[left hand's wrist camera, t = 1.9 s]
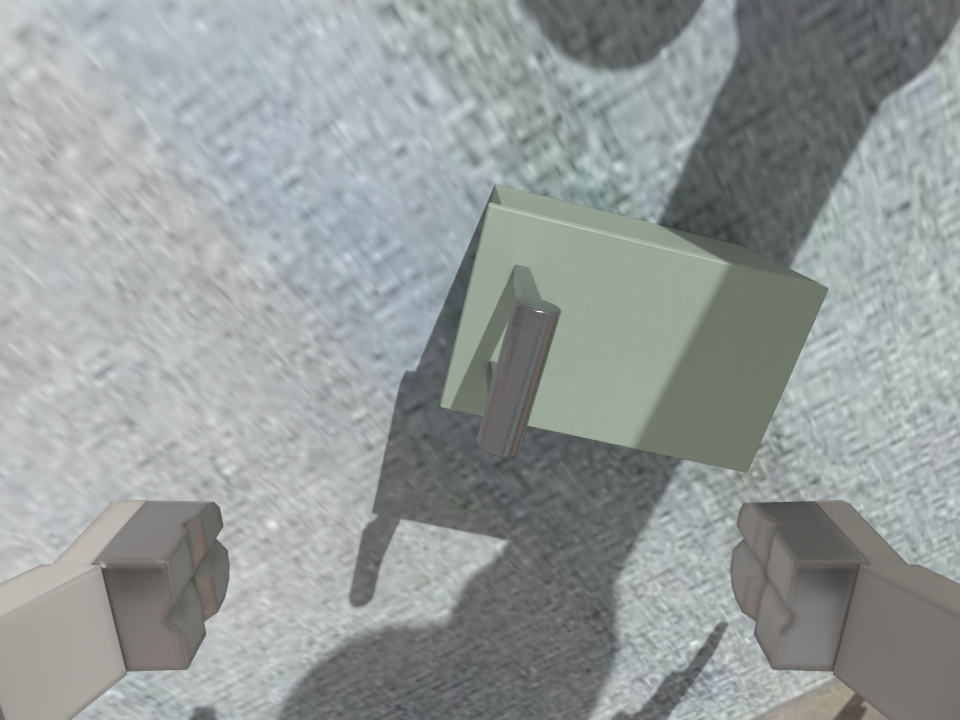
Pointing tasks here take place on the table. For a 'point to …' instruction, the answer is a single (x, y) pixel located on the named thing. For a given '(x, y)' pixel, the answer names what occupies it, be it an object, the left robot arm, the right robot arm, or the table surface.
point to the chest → (637, 229)
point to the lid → (622, 341)
